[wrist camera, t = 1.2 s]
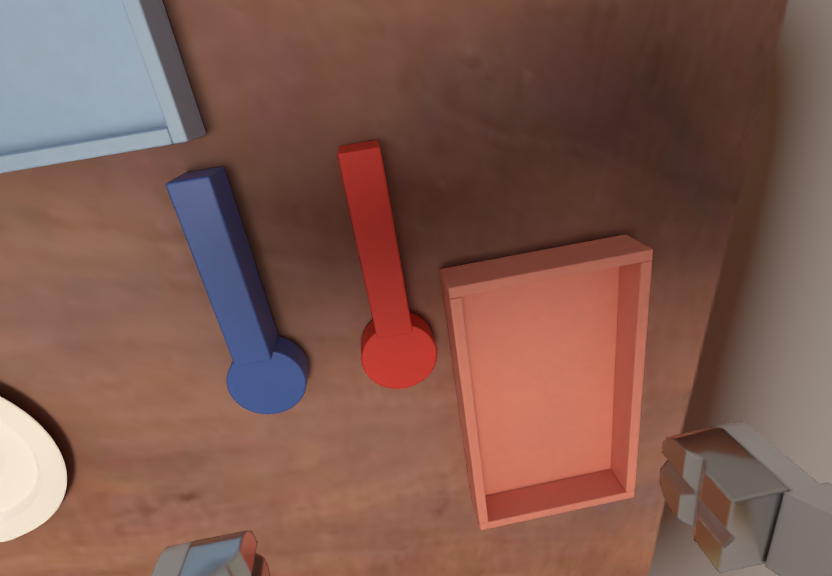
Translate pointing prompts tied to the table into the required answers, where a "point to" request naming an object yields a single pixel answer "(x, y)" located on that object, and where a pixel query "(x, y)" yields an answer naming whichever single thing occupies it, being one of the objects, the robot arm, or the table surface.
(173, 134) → the blue tray
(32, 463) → the candle holder
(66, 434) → the table surface
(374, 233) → the red spoon
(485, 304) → the red tray
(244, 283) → the blue spoon
